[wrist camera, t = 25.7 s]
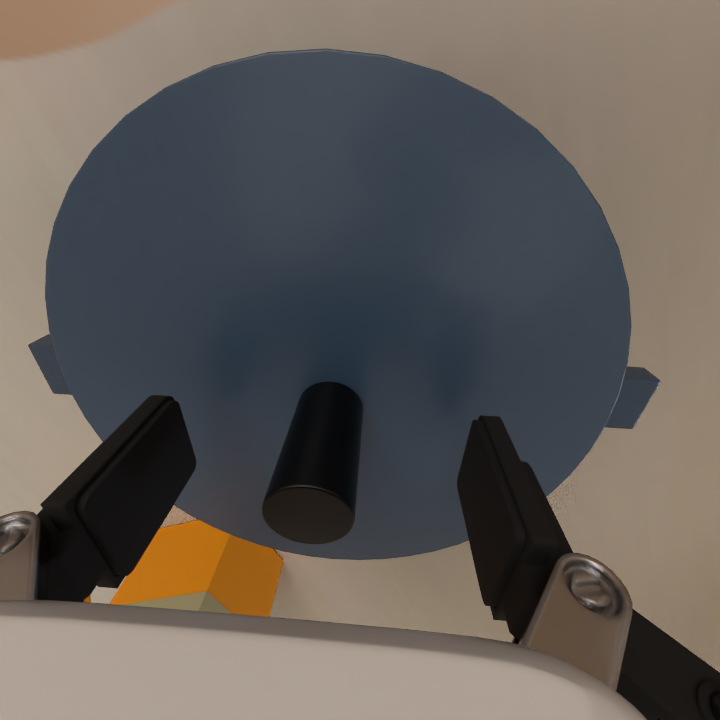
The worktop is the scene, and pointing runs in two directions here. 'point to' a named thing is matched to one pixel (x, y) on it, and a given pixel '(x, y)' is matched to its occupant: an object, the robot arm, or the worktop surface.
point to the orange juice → (203, 573)
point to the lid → (338, 295)
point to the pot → (623, 415)
